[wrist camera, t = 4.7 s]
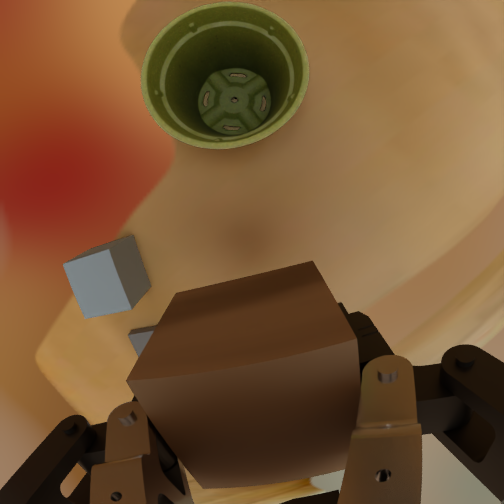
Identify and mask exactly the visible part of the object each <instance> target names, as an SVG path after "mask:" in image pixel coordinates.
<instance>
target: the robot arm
mask: <svg viewBox="0 0 504 504" xmlns="http://www.w3.org/2000/svg"><path fill="white" fill-rule="evenodd" d="M338 305H339V307H340V309H341V311H342V312H343V314H344V316H345V318H346V319H347V321H348V323H349V325H350V327H351V328H352V330H353V332H354V334H355V336H356V338H357V343H358V355H359V368H360V383H361V392H360V401H359V409H358V416H357V423H356V428H353V431H352V436H351V441H350V447H349V452H348V458H347V463H346V468H345V473H344V477H343V481H342V486H341V490H340V494H339V490H335V491H331V492H327V493H322V494H317V495H312V496H307V497H301V498H295V499H292V500H289V501H286V502H283V503H281V504H420V503H421V487H422V486H421V485H422V435H423V434H431V433H432V434H433V435H434V436H435V437H436V438H437V439H438V440H439V441H440V442H441V443H442V444H443V445H444V446H445V447H446V448H447V449H448V450H449V451H450V452H451V453H452V454H453V455H454V456H455V457H456V458H457V459H458V460H459V461H460V462H461V463H462V464H463V465H464V466H465V467H466V468H467V469H468V470H469V471H470V472H471V473H473V475H474V476H475V477H476V478H478V479H479V480H480V481H481V482H482V483H483V484H484V485H485V486H486V487H487V488H488V489H489V490H490V491H491V492H492V493H493V494H494V495H495V496H496V497H497V498H498V499H499V500H500V501H501V502H502V503H501V504H504V363H503V362H501V361H500V360H498V359H497V358H495V357H493V356H491V355H490V354H489V353H487V352H485V351H483V350H482V349H480V348H478V347H476V346H473V345H458V346H454V347H452V348H450V349H449V350H447V351H446V352H445V353H444V355H443V357H442V360H441V363H439V364H433V365H426V366H412V364H411V363H410V361H409V360H407V359H406V358H404V357H401V356H397V355H394V353H393V352H392V350H391V349H390V347H389V346H388V344H387V343H386V341H385V340H384V338H383V337H382V335H381V334H380V333H379V332H378V330H377V328H376V327H375V326H374V324H373V322H372V321H371V319H370V318H369V317H368V316H367V315H365V314H363V313H361V312H359V311H357V312H354V313H350V314H348V312H347V311H346V309H345V307H344V306H343V304H342V303H341V302H340V303H338ZM76 463H78V464H79V465H80V466H81V467H82V468H83V469H84V470H85V471H86V472H87V473H86V475H85V476H84V477H83V479H82V480H81V481H80V483H79V484H78V486H77V487H76V488H75V489H74V491H73V492H72V493H71V495H70V496H69V497H68V498H65V497H64V496H63V495H62V493H61V491H60V485H61V483H62V481H63V480H64V479H65V478H66V476H67V475H68V474H69V472H70V471H71V470H72V468H73V467H74V466H75V465H76ZM0 504H194V502H193V499H192V496H191V492H190V489H189V485H188V481H187V477H186V473H185V469H184V465H183V464H182V463H181V461H180V460H179V459H178V457H177V456H176V455H175V454H174V452H173V451H172V450H171V448H170V447H169V446H168V444H167V443H166V441H165V440H164V439H163V437H162V436H161V434H160V433H159V432H158V430H157V429H156V427H155V426H154V424H153V423H152V421H151V420H150V419H149V417H148V416H147V414H146V412H145V411H144V409H143V408H142V406H141V405H140V403H139V402H138V400H137V398H136V397H135V395H134V397H133V399H132V402H127V403H124V404H121V405H120V406H118V407H116V408H115V409H114V410H113V411H112V412H111V413H110V415H109V417H108V420H107V422H104V423H100V424H96V425H90V424H89V422H88V421H87V420H86V418H85V417H84V416H82V415H72V416H69V417H67V418H65V419H64V420H62V421H61V422H60V423H59V424H58V425H57V426H56V427H55V429H54V430H53V431H52V432H51V433H50V434H49V435H48V436H47V437H46V439H45V440H44V441H43V442H42V443H41V444H40V445H39V446H38V447H37V449H36V450H35V451H34V452H33V453H32V454H31V455H30V456H29V458H28V459H27V460H26V461H25V462H24V463H23V465H22V466H21V467H20V468H19V469H18V470H17V471H16V472H15V474H14V475H13V476H12V477H11V478H10V479H9V480H8V482H7V483H6V484H5V485H4V486H3V487H2V489H1V490H0Z"/></svg>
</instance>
